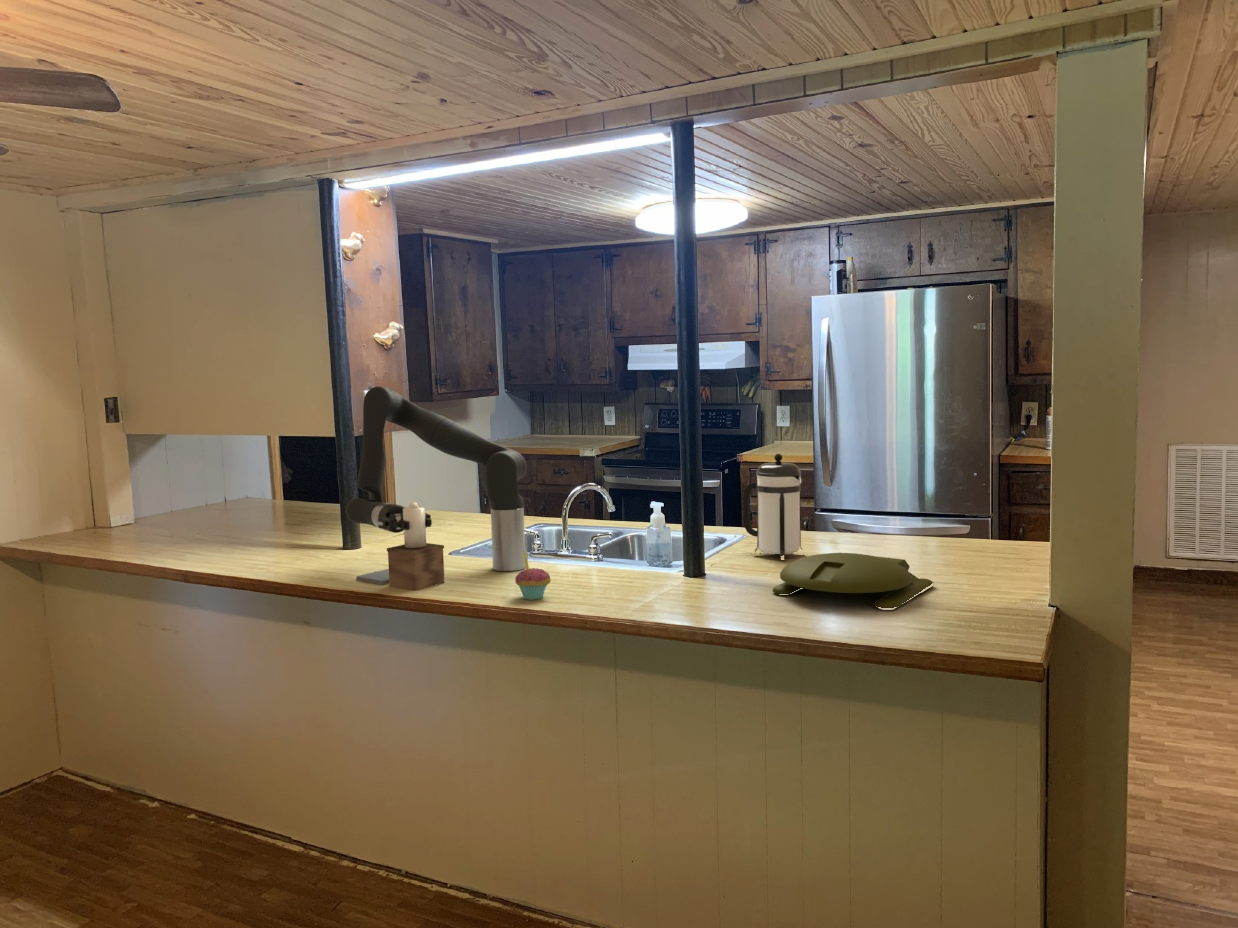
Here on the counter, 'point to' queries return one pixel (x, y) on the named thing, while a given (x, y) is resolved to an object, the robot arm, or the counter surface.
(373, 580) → the mat
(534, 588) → the cupcake
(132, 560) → the counter surface
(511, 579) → the counter surface
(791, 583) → the spaceship
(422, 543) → the white pillar candle
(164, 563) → the counter surface
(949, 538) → the counter surface
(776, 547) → the coffee press
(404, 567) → the wooden lidded box
